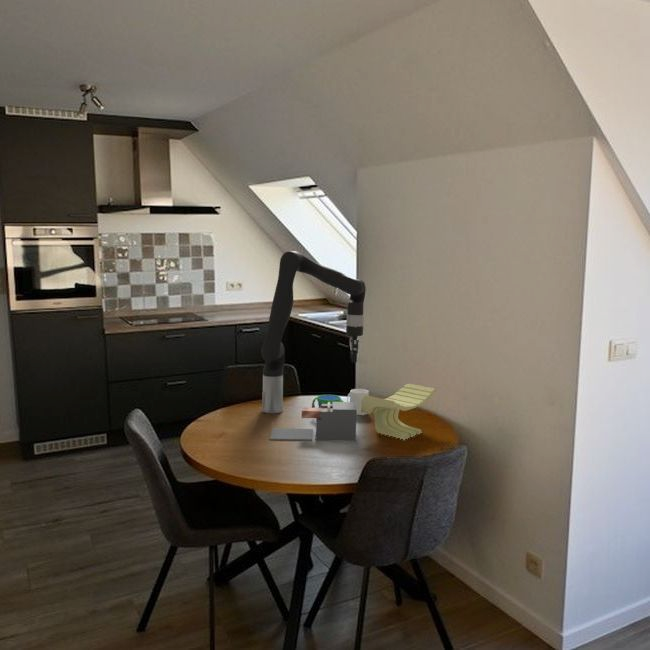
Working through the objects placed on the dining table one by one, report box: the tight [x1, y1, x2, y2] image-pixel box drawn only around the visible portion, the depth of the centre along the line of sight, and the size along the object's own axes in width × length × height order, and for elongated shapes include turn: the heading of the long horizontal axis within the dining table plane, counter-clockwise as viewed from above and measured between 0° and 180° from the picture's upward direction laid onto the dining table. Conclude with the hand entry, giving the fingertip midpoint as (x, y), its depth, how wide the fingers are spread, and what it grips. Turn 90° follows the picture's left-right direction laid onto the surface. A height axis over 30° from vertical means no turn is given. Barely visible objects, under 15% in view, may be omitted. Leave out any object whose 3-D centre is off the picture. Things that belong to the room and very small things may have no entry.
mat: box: [269, 427, 314, 442], centre depth 263 cm, size 17×14×1 cm
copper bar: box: [301, 407, 333, 419], centre depth 261 cm, size 15×5×3 cm, turn 90°
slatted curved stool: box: [361, 383, 436, 441], centre depth 267 cm, size 30×16×18 cm, turn 139°
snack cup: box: [311, 394, 345, 408], centre depth 286 cm, size 16×10×10 cm
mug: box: [346, 388, 370, 416], centre depth 297 cm, size 9×12×11 cm
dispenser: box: [315, 401, 357, 442], centre depth 262 cm, size 16×12×13 cm
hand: (353, 360), depth 284 cm, fingers open, 8 cm apart
